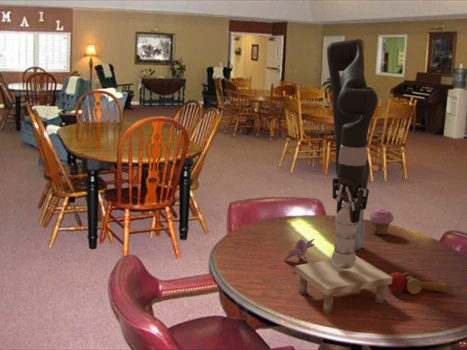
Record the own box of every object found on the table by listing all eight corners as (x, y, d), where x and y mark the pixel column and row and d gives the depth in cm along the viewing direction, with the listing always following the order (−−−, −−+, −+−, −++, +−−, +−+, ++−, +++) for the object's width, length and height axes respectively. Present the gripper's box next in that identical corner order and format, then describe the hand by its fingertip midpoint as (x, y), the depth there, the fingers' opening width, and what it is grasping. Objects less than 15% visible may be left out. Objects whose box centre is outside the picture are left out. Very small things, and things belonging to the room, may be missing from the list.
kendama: (436, 289, 177) (381, 281, 175) (443, 272, 174) (387, 264, 173) (445, 305, 170) (388, 296, 168) (452, 287, 167) (394, 279, 166)
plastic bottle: (354, 272, 160) (361, 205, 155) (330, 269, 162) (336, 203, 157) (354, 263, 167) (361, 198, 162) (331, 261, 168) (337, 196, 163)
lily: (319, 261, 195) (309, 235, 196) (327, 261, 183) (317, 233, 184) (286, 273, 193) (277, 246, 194) (293, 274, 182) (283, 245, 183)
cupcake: (367, 235, 219) (369, 210, 216) (369, 228, 227) (371, 204, 224) (391, 238, 216) (393, 213, 214) (391, 231, 224) (394, 207, 222)
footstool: (354, 279, 178) (356, 255, 176) (389, 302, 163) (392, 277, 161) (293, 290, 169) (295, 265, 167) (325, 316, 154) (327, 289, 152)
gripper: (379, 166, 152) (374, 225, 156) (348, 155, 164) (343, 210, 168) (356, 168, 149) (351, 228, 153) (326, 156, 161) (322, 212, 165)
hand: (347, 218), depth 161 cm, fingers closed on plastic bottle, 6 cm apart
